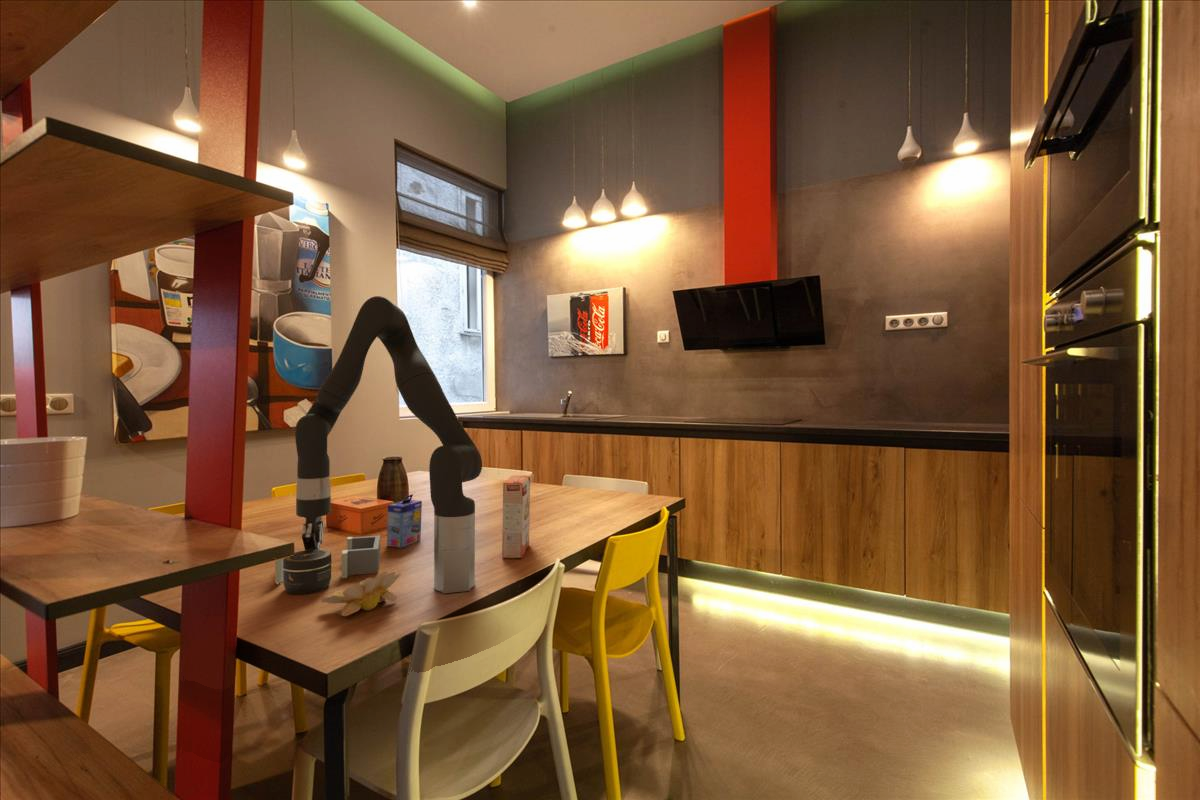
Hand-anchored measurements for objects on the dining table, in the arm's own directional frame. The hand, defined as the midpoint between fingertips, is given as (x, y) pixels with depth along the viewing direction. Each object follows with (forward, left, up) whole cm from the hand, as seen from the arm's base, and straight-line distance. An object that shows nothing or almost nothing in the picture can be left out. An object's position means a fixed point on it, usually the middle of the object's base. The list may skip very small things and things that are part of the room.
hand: (313, 565), depth 138 cm
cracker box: (+5, -51, -3) cm, 51 cm away
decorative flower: (-24, -13, -3) cm, 28 cm away
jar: (-8, 0, -3) cm, 9 cm away
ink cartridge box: (+24, -21, -3) cm, 32 cm away
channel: (+4, -4, -3) cm, 6 cm away
